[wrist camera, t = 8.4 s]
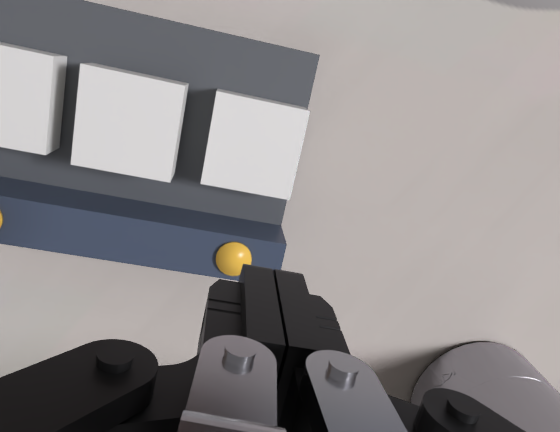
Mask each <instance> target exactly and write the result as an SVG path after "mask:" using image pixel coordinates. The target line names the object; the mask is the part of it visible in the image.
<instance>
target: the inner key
mask: <svg viewBox="0 0 560 432" xmlns="http://www.w3.org/2000/svg"><path fill="white" fill-rule="evenodd" d="M309 114H310V111H309V110H308V109H307V108H305V107H302V106H297V105H293V104H288V103H283V102H279V101H274V100H269V99H265V98H260V97H255V96H251V95H246V94H241V93H237V92H232V91H227V90H223V89H217V91H216V97H215V103H214V108H213V114H212V120H211V126H210V131H209V137H208V143H207V149H206V154H205V160H204V166H203V172H202V178H201V183H200V184H204V185H209V186H215V187H220V188H226V189H231V190H237V191H242V192H247V193H253V194H258V195H264V196H269V197H275V198H280V199H286V200H290V197H291V193H292V188H293V184H294V180H295V175H296V171H297V167H298V162H299V158H300V153H301V149H302V145H303V140H304V136H305V132H306V127H307V123H308V118H309Z"/></svg>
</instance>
